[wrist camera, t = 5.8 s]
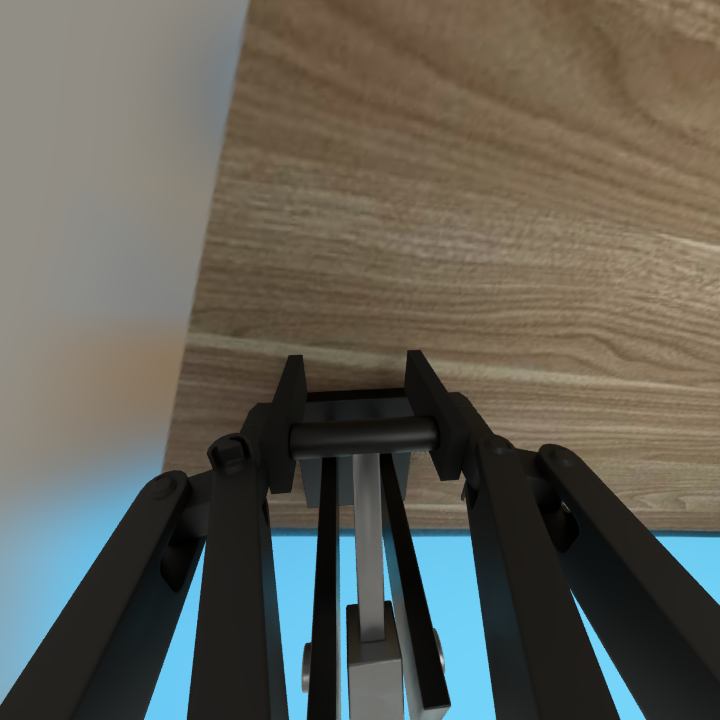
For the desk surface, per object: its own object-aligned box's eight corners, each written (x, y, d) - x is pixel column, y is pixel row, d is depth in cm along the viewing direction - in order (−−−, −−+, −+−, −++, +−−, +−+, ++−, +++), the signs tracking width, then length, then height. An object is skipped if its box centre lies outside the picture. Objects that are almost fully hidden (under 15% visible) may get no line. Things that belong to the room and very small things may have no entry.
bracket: (292, 393, 19) (211, 708, 7) (413, 386, 19) (544, 664, 7) (308, 496, 24) (281, 766, 12) (402, 489, 25) (463, 740, 13)
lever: (295, 415, 12) (283, 434, 9) (424, 408, 12) (445, 424, 10) (309, 662, 12) (301, 738, 10) (430, 647, 13) (451, 717, 10)
